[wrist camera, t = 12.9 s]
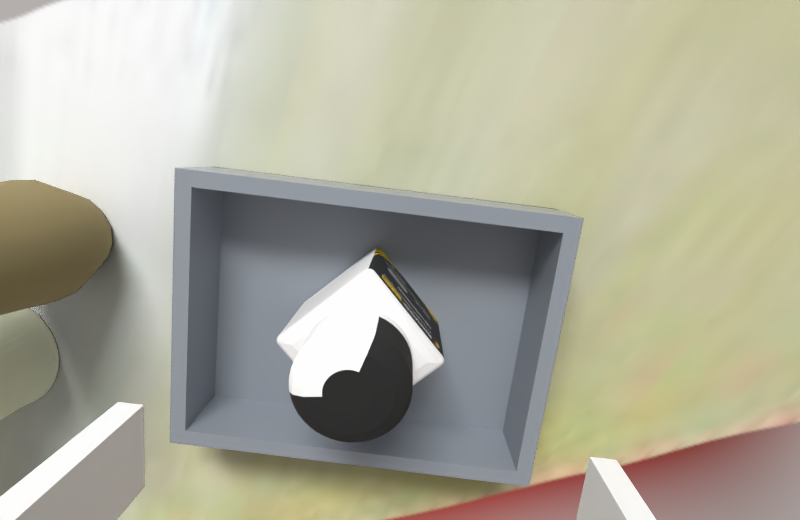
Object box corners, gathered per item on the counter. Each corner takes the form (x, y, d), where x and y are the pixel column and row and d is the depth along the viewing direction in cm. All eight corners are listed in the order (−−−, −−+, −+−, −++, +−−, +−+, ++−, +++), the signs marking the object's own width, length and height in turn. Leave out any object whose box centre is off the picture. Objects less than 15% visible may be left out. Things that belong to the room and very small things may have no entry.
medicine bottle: (439, 321, 33) (455, 408, 22) (362, 376, 35) (337, 487, 23) (378, 244, 32) (360, 291, 21) (301, 303, 33) (241, 380, 22)
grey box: (555, 208, 32) (583, 218, 27) (511, 438, 36) (528, 486, 31) (214, 166, 32) (174, 167, 27) (205, 400, 36) (169, 442, 31)
